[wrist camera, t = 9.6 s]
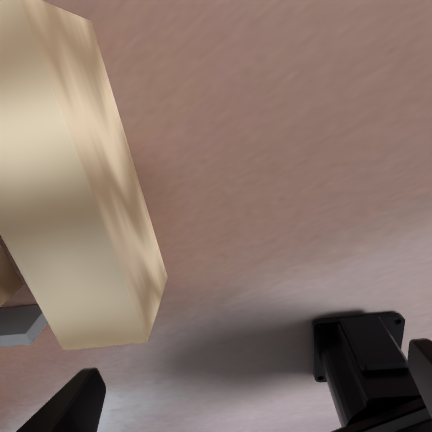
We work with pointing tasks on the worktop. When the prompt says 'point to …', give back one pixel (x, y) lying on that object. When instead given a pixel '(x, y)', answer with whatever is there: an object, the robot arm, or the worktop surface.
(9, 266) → the walnut chip
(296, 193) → the worktop surface
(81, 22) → the block
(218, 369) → the worktop surface
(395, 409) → the robot arm
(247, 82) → the worktop surface
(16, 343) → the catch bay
